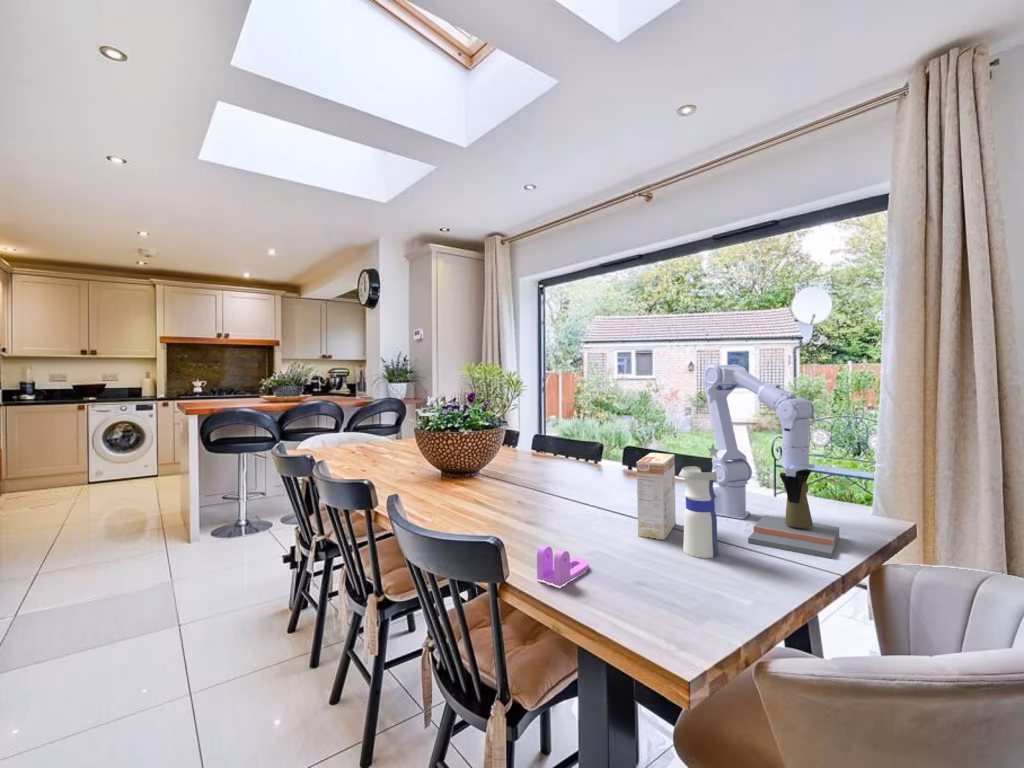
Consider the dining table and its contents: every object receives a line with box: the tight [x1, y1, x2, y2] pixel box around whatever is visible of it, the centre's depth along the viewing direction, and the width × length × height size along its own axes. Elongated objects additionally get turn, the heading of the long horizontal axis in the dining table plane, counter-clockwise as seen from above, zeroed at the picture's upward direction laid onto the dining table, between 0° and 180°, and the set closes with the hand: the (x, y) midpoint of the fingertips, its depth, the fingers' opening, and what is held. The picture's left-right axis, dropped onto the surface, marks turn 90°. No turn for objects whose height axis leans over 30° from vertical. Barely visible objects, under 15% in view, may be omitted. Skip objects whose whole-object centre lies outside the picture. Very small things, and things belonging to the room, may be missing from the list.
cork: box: [784, 481, 814, 528], centre depth 120 cm, size 6×6×11 cm
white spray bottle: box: [678, 443, 719, 559], centre depth 112 cm, size 8×9×25 cm
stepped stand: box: [747, 515, 840, 559], centre depth 118 cm, size 17×17×3 cm
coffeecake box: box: [636, 452, 677, 541], centre depth 127 cm, size 15×7×20 cm, turn 150°
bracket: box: [536, 544, 590, 586], centre depth 101 cm, size 13×6×7 cm, turn 141°
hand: (795, 500), depth 120 cm, fingers closed on cork, 5 cm apart
